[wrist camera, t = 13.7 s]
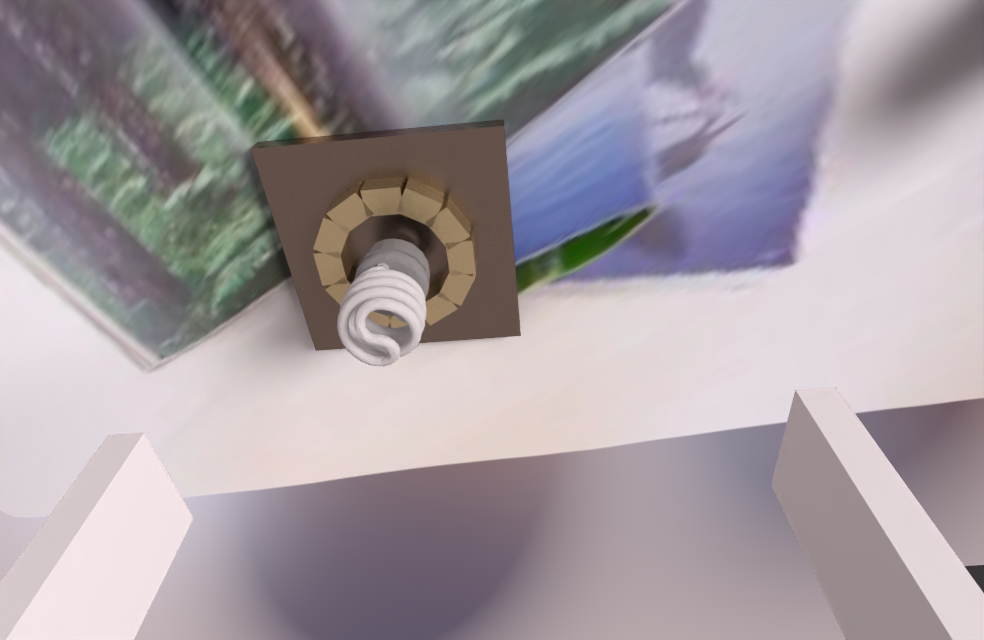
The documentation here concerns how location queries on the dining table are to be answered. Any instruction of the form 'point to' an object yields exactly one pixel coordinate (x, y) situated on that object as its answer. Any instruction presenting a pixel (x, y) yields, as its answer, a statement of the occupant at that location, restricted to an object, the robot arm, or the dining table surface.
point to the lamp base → (398, 221)
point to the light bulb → (385, 302)
